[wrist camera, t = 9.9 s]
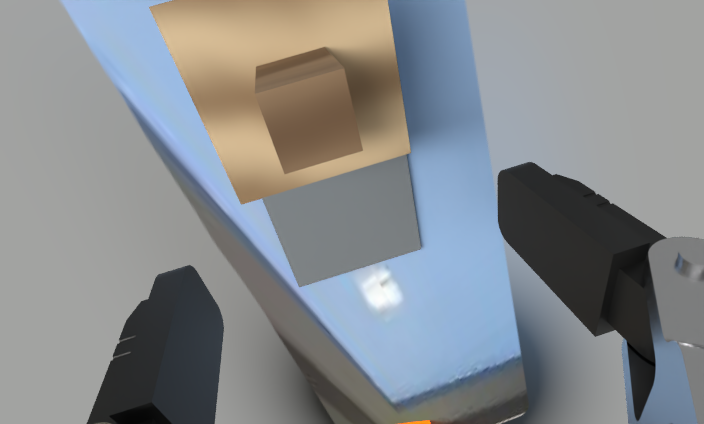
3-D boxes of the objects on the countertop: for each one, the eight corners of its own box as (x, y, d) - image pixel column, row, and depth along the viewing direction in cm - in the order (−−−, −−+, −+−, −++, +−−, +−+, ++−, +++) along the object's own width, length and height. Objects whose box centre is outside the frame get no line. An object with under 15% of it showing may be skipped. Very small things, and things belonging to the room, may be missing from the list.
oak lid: (152, 6, 20) (108, 17, 14) (374, -56, 20) (420, -68, 14) (241, 198, 26) (236, 260, 20) (407, 148, 27) (446, 194, 21)
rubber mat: (253, 174, 34) (253, 176, 34) (401, 130, 35) (403, 132, 34) (298, 284, 42) (299, 287, 41) (419, 246, 42) (421, 249, 42)
